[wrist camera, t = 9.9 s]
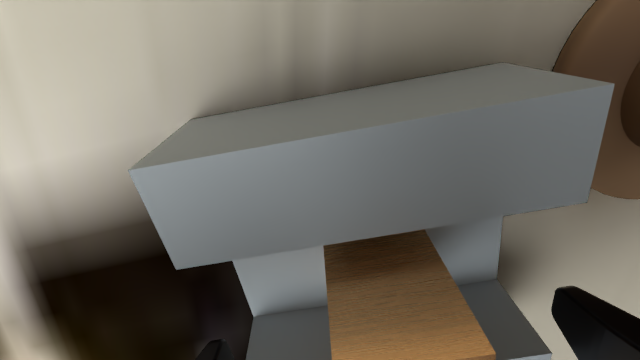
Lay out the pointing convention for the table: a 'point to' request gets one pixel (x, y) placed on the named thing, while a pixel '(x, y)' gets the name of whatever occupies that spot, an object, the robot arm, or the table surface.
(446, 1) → the table surface
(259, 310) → the bracket
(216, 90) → the table surface
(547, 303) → the table surface
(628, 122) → the tan door knob
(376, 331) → the brown wooden block
